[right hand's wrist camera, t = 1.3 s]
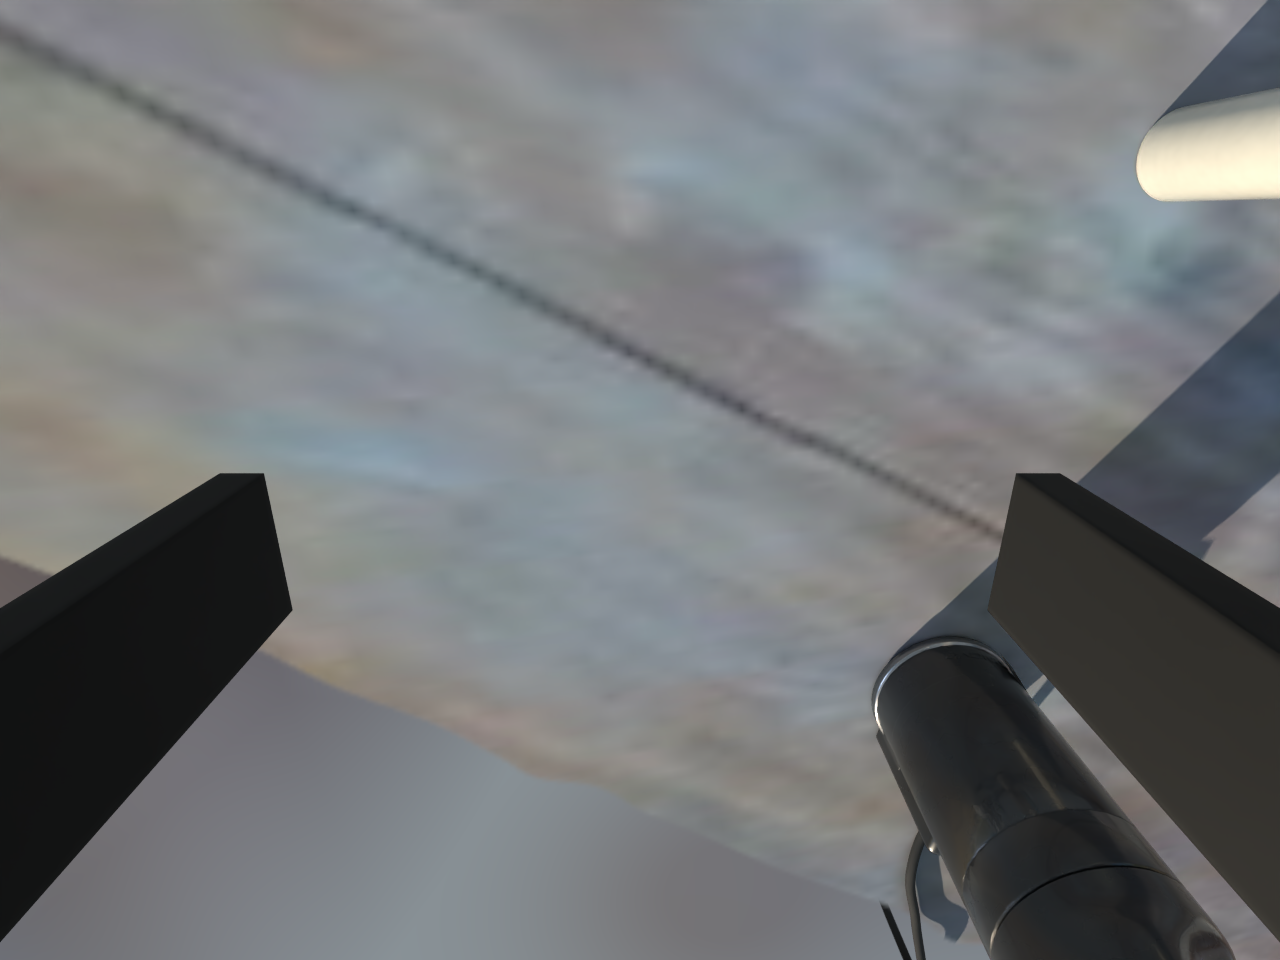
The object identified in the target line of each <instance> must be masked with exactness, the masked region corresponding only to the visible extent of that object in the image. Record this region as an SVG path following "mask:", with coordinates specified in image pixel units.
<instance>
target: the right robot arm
mask: <svg viewBox="0 0 1280 960" xmlns="http://www.w3.org/2000/svg"><path fill="white" fill-rule="evenodd" d="M291 611H292V605H291V600H290V596H289V591H288V586H287V581H286V577H285V572H284V567H283V562H282V558H281V553H280V548H279V543H278V538H277V534H276V529H275V524H274V519H273V515H272V510H271V505H270V500H269V496H268V491H267V486H266V481H265V477H264V473H220V474H218V475H217V476H215V477H213V478H212V479H210V480H208V481H207V482H205V483H204V484H202V485H200V486H199V487H197V488H195V489H194V490H192V491H190V492H189V493H187V494H186V495H184V496H182V497H181V498H179V499H177V500H176V501H174V502H173V503H171V504H169V505H168V506H166V507H164V508H163V509H161V510H160V511H158V512H156V513H155V514H153V515H151V516H150V517H148V518H146V519H145V520H143V521H142V522H140V523H138V524H137V525H135V526H133V527H132V528H130V529H129V530H127V531H125V532H124V533H122V534H120V535H119V536H117V537H116V538H114V539H112V540H111V541H109V542H107V543H106V544H104V545H102V546H101V547H99V548H98V549H96V550H94V551H93V552H91V553H89V554H88V555H86V556H85V557H83V558H81V559H80V560H78V561H76V562H75V563H73V564H72V565H70V566H68V567H67V568H65V569H63V570H62V571H60V572H58V573H57V574H55V575H54V576H52V577H50V578H49V579H47V580H45V581H44V582H42V583H41V584H39V585H37V586H36V587H34V588H32V589H31V590H29V591H28V592H26V593H24V594H23V595H21V596H19V597H18V598H16V599H15V600H13V601H11V602H10V603H8V604H6V605H5V606H3V607H2V608H0V942H1V941H2V939H3V938H4V937H5V936H6V935H7V934H8V933H9V932H10V930H11V929H12V928H13V927H14V926H15V925H16V924H17V922H18V921H19V920H20V919H21V918H22V917H23V916H24V915H25V913H26V912H27V911H28V910H29V909H30V908H31V907H32V905H33V904H34V903H35V902H36V901H37V900H38V899H39V897H40V896H41V895H42V894H43V893H44V892H45V891H46V889H47V888H48V887H49V886H50V885H51V884H52V883H53V882H54V880H55V879H56V878H57V877H58V876H59V875H60V874H61V872H62V871H63V870H64V869H65V868H66V867H67V866H68V865H69V863H70V862H71V861H72V860H73V859H74V858H75V857H76V855H77V854H78V853H79V852H80V851H81V850H82V849H83V848H84V846H85V845H86V844H87V843H88V842H89V841H90V840H91V838H92V837H93V836H94V835H95V834H96V833H97V832H98V830H99V829H100V828H101V827H102V826H103V825H104V824H105V823H106V821H107V820H108V819H109V818H110V817H111V816H112V815H113V813H114V812H115V811H116V810H117V809H118V808H119V807H120V806H121V804H122V803H123V802H124V801H125V800H126V799H127V798H128V796H129V795H130V794H131V793H132V792H133V791H134V790H135V788H136V787H137V786H138V785H139V784H140V783H141V782H142V780H143V779H144V778H145V777H146V776H147V775H148V774H149V773H150V771H151V770H152V769H153V768H154V767H155V766H156V765H157V763H158V762H159V761H160V760H161V759H162V758H163V757H164V756H165V754H166V753H167V752H168V751H169V750H170V749H171V748H172V746H173V745H174V744H175V743H176V742H177V741H178V740H179V739H180V737H181V736H182V735H183V734H184V733H185V732H186V731H187V729H188V728H189V727H190V726H191V725H192V724H193V723H194V721H195V720H196V719H197V718H198V717H199V716H200V715H201V714H202V712H203V711H204V710H205V709H206V708H207V707H208V706H209V704H210V703H211V702H212V701H213V700H214V699H215V698H216V696H217V695H218V694H219V693H220V692H221V691H222V690H223V688H224V687H225V686H226V685H227V684H228V683H229V682H230V681H231V679H232V678H233V677H234V676H235V675H236V674H237V673H238V672H239V670H240V669H241V668H242V667H243V666H244V665H245V664H246V662H247V661H248V660H249V659H250V658H251V657H252V656H253V655H254V653H255V652H256V651H257V650H258V649H259V648H260V647H261V645H262V644H263V643H264V642H265V641H266V640H267V639H268V637H269V636H270V635H271V634H272V633H273V632H274V631H275V630H276V628H277V627H278V626H279V625H280V624H281V623H282V622H283V620H284V619H285V618H286V617H287V616H288V615H289V614H290V612H291ZM988 611H989V612H990V614H991V615H992V616H993V617H994V618H995V619H996V620H997V622H998V623H999V624H1000V625H1001V626H1002V627H1003V628H1004V630H1005V631H1006V632H1007V633H1008V634H1009V635H1010V636H1011V637H1012V639H1013V640H1014V641H1015V642H1016V643H1017V644H1018V645H1019V647H1020V648H1021V649H1022V650H1023V651H1024V652H1025V653H1026V655H1027V656H1028V657H1029V658H1030V659H1031V660H1032V661H1033V662H1034V664H1035V665H1036V666H1037V667H1038V668H1039V669H1040V670H1041V672H1042V673H1043V674H1044V675H1045V676H1046V677H1047V678H1048V679H1049V681H1050V682H1051V683H1052V684H1053V685H1054V686H1055V687H1056V689H1057V690H1058V691H1059V692H1060V693H1061V694H1062V695H1063V697H1064V698H1065V699H1066V700H1067V701H1068V702H1069V703H1070V704H1071V706H1072V707H1073V708H1074V709H1075V710H1076V711H1077V712H1078V714H1079V715H1080V716H1081V717H1082V718H1083V719H1084V720H1085V721H1086V723H1087V724H1088V725H1089V726H1090V727H1091V728H1092V729H1093V731H1094V732H1095V733H1096V734H1097V735H1098V736H1099V737H1100V739H1101V740H1102V741H1103V742H1104V743H1105V744H1106V745H1107V746H1108V748H1109V749H1110V750H1111V751H1112V752H1113V753H1114V754H1115V756H1116V757H1117V758H1118V759H1119V760H1120V761H1121V762H1122V764H1123V765H1124V766H1125V767H1126V768H1127V769H1128V770H1129V771H1130V773H1131V774H1132V775H1133V776H1134V777H1135V778H1136V779H1137V781H1138V782H1139V783H1140V784H1141V785H1142V786H1143V787H1144V788H1145V790H1146V791H1147V792H1148V793H1149V794H1150V795H1151V796H1152V798H1153V799H1154V800H1155V801H1156V802H1157V803H1158V804H1159V806H1160V807H1161V808H1162V809H1163V810H1164V811H1165V812H1166V813H1167V815H1168V816H1169V817H1170V818H1171V819H1172V820H1173V821H1174V823H1175V824H1176V825H1177V826H1178V827H1179V828H1180V829H1181V831H1182V832H1183V833H1184V834H1185V835H1186V836H1187V837H1188V838H1189V840H1190V841H1191V842H1192V843H1193V844H1194V845H1195V846H1196V848H1197V849H1198V850H1199V851H1200V852H1201V853H1202V854H1203V855H1204V857H1205V858H1206V859H1207V860H1208V861H1209V862H1210V863H1211V865H1212V866H1213V867H1214V868H1215V869H1216V870H1217V871H1218V873H1219V874H1220V875H1221V876H1222V877H1223V878H1224V879H1225V880H1226V882H1227V883H1228V884H1229V885H1230V886H1231V887H1232V888H1233V890H1234V891H1235V892H1236V893H1237V894H1238V895H1239V896H1240V897H1241V899H1242V900H1243V901H1244V902H1245V903H1246V904H1247V905H1248V907H1249V908H1250V909H1251V910H1252V911H1253V912H1254V913H1255V915H1256V916H1257V917H1258V918H1259V919H1260V920H1261V921H1262V922H1263V924H1264V925H1265V926H1266V927H1267V928H1268V929H1269V930H1270V932H1271V933H1272V934H1273V935H1274V936H1275V937H1276V938H1277V940H1278V941H1279V942H1280V608H1279V607H1277V606H1275V605H1274V604H1272V603H1270V602H1269V601H1267V600H1266V599H1264V598H1262V597H1261V596H1259V595H1257V594H1256V593H1254V592H1252V591H1251V590H1249V589H1248V588H1246V587H1244V586H1243V585H1241V584H1239V583H1238V582H1236V581H1235V580H1233V579H1231V578H1230V577H1228V576H1226V575H1225V574H1223V573H1222V572H1220V571H1218V570H1217V569H1215V568H1213V567H1212V566H1210V565H1208V564H1207V563H1205V562H1204V561H1202V560H1200V559H1199V558H1197V557H1195V556H1194V555H1192V554H1191V553H1189V552H1187V551H1186V550H1184V549H1182V548H1181V547H1179V546H1178V545H1176V544H1174V543H1173V542H1171V541H1169V540H1168V539H1166V538H1164V537H1163V536H1161V535H1160V534H1158V533H1156V532H1155V531H1153V530H1151V529H1150V528H1148V527H1147V526H1145V525H1143V524H1142V523H1140V522H1138V521H1137V520H1135V519H1134V518H1132V517H1130V516H1129V515H1127V514H1125V513H1124V512H1122V511H1120V510H1119V509H1117V508H1116V507H1114V506H1112V505H1111V504H1109V503H1107V502H1106V501H1104V500H1103V499H1101V498H1099V497H1098V496H1096V495H1094V494H1093V493H1091V492H1090V491H1088V490H1086V489H1085V488H1083V487H1081V486H1080V485H1078V484H1076V483H1075V482H1073V481H1072V480H1070V479H1068V478H1067V477H1065V476H1063V475H1062V474H1060V473H1016V477H1015V481H1014V486H1013V491H1012V496H1011V500H1010V505H1009V510H1008V515H1007V519H1006V524H1005V529H1004V534H1003V538H1002V543H1001V548H1000V553H999V558H998V562H997V567H996V572H995V577H994V581H993V586H992V591H991V596H990V600H989V605H988Z"/></svg>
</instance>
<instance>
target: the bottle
mask: <svg viewBox="0 0 1280 960" xmlns="http://www.w3.org/2000/svg"><path fill="white" fill-rule="evenodd" d="M1136 169H1137V176H1138V180H1139V182H1140V185H1141V186H1142V188H1143V189H1144V191H1145V192H1146V193H1147V194H1149V195H1150V196H1151V197H1153V198H1155V199H1157V200H1160V201H1165V202H1181V201H1219V200H1258V199H1280V87H1279V88H1274V89H1269V90H1264V91H1259V92H1254V93H1249V94H1244V95H1239V96H1234V97H1229V98H1224V99H1219V100H1214V101H1209V102H1204V103H1199V104H1194V105H1189V106H1184V107H1181V108H1178V109H1175V110H1173V111H1171V112H1170V113H1168V114H1166V115H1165V116H1164V117H1162V118H1161V119H1160V120H1159V121H1158V122H1157V123H1156V124H1155V125H1154V126H1153V127H1152V128H1151V129H1150V130H1149V132H1148V133H1147V135H1146V136H1145V138H1144V140H1143V142H1142V144H1141V146H1140V149H1139V152H1138V156H1137V165H1136Z"/></svg>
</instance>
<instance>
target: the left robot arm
mask: <svg viewBox="0 0 1280 960" xmlns="http://www.w3.org/2000/svg"><path fill="white" fill-rule="evenodd" d="M1001 656H1002V655H1001ZM1002 657H1003V656H1002ZM1003 659H1004V660H1005V658H1004V657H1003ZM1005 662H1006V664H1007V665H1008V666H1007V665H1006V664H1005ZM1005 662H1004V661H1003V660H1002V659H1001V657H1000V656H999V655H998V654H997V653H996V652H995V651H994V650H992V649H991V648H990V647H988V646H986V645H985V644H983V643H981V642H978V641H975V640H972V639H968V638H963V637H940V638H934V639H930V640H926V641H923V642H920V643H917V644H915V645H913V646H911V647H909V648H907V649H906V650H904V651H902V652H901V653H899V654H898V655H897V656H896V657H894V658H893V659H892V660H891V661H890V662H889V663H888V664H887V665H886V666H885V668H884V669H883V670H882V672H881V673H880V675H879V677H878V678H877V680H876V683H875V685H874V688H873V693H872V710H873V714H874V717H875V719H876V722H877V724H878V726H879V731H878V733H877V740H878V742H879V744H880V746H881V748H882V751H883V753H884V755H885V757H886V760H887V762H888V764H889V766H890V768H891V771H892V773H893V775H894V777H895V779H896V782H897V784H898V786H899V788H900V790H901V793H902V795H903V797H904V799H905V801H906V804H907V806H908V808H909V810H910V812H911V815H912V817H913V819H914V821H915V824H916V826H917V828H918V830H919V831H918V833H917V835H916V838H915V840H914V843H913V846H912V849H911V852H910V855H909V859H908V864H907V869H906V877H905V886H906V894H907V900H908V904H909V910H910V917H911V926H912V933H913V939H914V946H915V952H916V959H917V960H926V958H925V952H924V945H923V939H922V932H921V923H920V914H919V908H918V903H917V898H916V891H915V878H916V871H917V866H918V862H919V859H920V855H921V852H922V849H923V846H924V844H925V845H926V847H927V849H928V850H929V851H930V852H932V853H933V854H936V855H941V856H942V858H943V861H944V863H945V865H946V867H947V869H948V871H949V873H950V875H951V878H952V880H953V882H954V884H955V886H956V888H957V890H958V892H959V895H960V897H961V899H962V901H963V903H964V905H965V907H966V909H967V911H968V913H969V915H970V917H971V920H972V922H973V924H974V926H975V928H976V930H977V932H978V934H979V937H980V939H981V941H982V943H983V945H984V947H985V949H986V951H987V954H988V956H989V958H990V960H1236V959H1235V956H1234V954H1233V951H1232V949H1231V947H1230V945H1229V944H1228V942H1227V940H1226V939H1225V937H1224V936H1223V934H1222V933H1221V932H1220V930H1219V929H1218V927H1217V926H1216V925H1215V924H1214V922H1213V921H1212V920H1211V918H1210V917H1209V916H1208V915H1207V913H1206V912H1205V911H1204V910H1203V909H1202V907H1201V906H1200V905H1199V904H1198V902H1197V901H1196V900H1195V899H1194V898H1193V896H1192V895H1191V894H1190V893H1189V891H1188V890H1187V889H1186V888H1185V887H1184V886H1183V884H1182V883H1181V882H1180V881H1179V879H1178V878H1177V877H1176V876H1175V875H1174V873H1173V872H1172V871H1171V870H1170V868H1169V867H1168V866H1167V865H1166V863H1165V862H1164V861H1163V860H1162V859H1161V857H1160V856H1159V855H1158V854H1157V852H1156V851H1155V850H1154V849H1153V847H1152V846H1151V845H1150V844H1149V842H1148V841H1147V840H1146V839H1145V838H1144V836H1143V835H1142V834H1141V833H1140V832H1139V830H1138V829H1137V828H1136V827H1135V825H1134V824H1133V823H1132V822H1131V821H1130V819H1129V818H1128V817H1127V816H1126V814H1125V813H1124V812H1123V811H1122V809H1121V808H1120V807H1119V806H1118V804H1117V803H1116V802H1115V801H1114V800H1113V798H1112V797H1111V796H1110V795H1109V793H1108V792H1107V791H1106V790H1105V788H1104V787H1103V786H1102V785H1101V783H1100V782H1099V781H1098V780H1097V778H1096V777H1095V776H1094V775H1093V774H1092V772H1091V771H1090V770H1089V769H1088V767H1087V766H1086V765H1085V764H1084V762H1083V761H1082V760H1081V759H1080V757H1079V756H1078V755H1077V754H1076V752H1075V751H1074V750H1073V749H1072V748H1071V746H1070V745H1069V744H1068V743H1067V741H1066V740H1065V739H1064V738H1063V736H1062V735H1061V734H1060V733H1059V731H1058V730H1057V729H1056V728H1055V727H1054V725H1053V724H1052V723H1051V722H1050V720H1049V719H1048V718H1047V717H1046V715H1045V714H1044V713H1043V712H1042V710H1041V709H1040V708H1039V707H1038V705H1037V704H1036V703H1035V702H1034V701H1033V699H1032V698H1031V697H1030V696H1029V694H1028V692H1027V691H1026V689H1025V688H1024V686H1023V684H1022V683H1021V681H1020V680H1019V678H1018V676H1017V675H1016V673H1015V672H1014V670H1013V668H1012V667H1011V666H1010V665H1009V663H1008V662H1007V661H1006V660H1005ZM1008 667H1009V668H1010V669H1009V668H1008ZM1010 670H1011V671H1010ZM1011 672H1012V673H1013V675H1014V676H1015V677H1014V676H1013V675H1012V673H1011ZM880 905H881V907H882V910H883V912H884V915H885V917H886V920H887V922H888V925H889V927H890V929H891V932H892V934H893V937H894V939H895V942H896V944H897V946H898V949H899V951H900V954H901V956H902V958H903V960H912V959H911V957H910V954H909V952H908V950H907V947H906V945H905V943H904V940H903V938H902V936H901V933H900V931H899V929H898V926H897V924H896V922H895V919H894V917H893V915H892V912H891V910H890V907H889V906H888V905H885V904H882V903H880Z"/></svg>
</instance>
